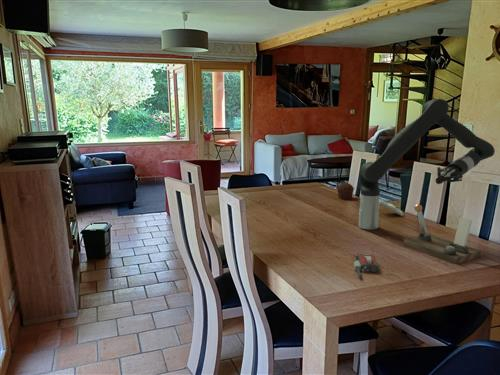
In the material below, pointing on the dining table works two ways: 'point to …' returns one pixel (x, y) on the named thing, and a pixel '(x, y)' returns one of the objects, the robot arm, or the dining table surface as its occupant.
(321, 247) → the dining table surface
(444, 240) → the walnut switch panel
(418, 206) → the steel toggle lever
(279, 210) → the dining table surface
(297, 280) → the dining table surface
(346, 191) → the muffin
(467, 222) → the panel
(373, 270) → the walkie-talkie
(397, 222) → the dining table surface
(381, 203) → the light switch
